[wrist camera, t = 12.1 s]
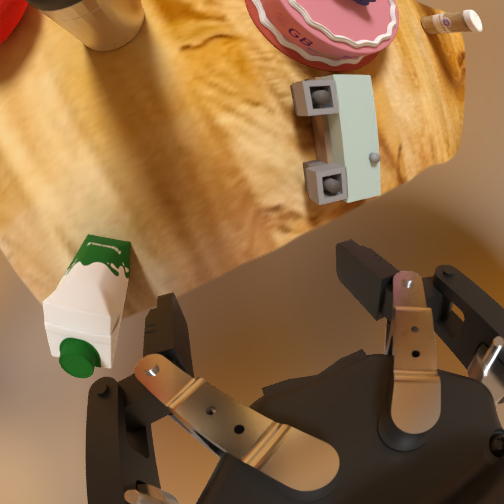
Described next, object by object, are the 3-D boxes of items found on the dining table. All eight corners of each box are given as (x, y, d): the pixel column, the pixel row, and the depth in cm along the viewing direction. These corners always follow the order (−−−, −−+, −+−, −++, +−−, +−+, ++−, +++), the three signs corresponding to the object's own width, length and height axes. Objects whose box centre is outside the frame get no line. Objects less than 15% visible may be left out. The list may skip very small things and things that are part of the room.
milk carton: (81, 278, 39) (43, 371, 21) (83, 226, 35) (28, 307, 18) (130, 287, 42) (115, 386, 25) (137, 236, 39) (114, 327, 21)
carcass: (289, 81, 34) (312, 74, 28) (349, 78, 35) (377, 75, 29) (306, 195, 43) (329, 209, 36) (360, 182, 44) (387, 194, 38)
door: (291, 78, 31) (304, 74, 27) (357, 76, 32) (374, 74, 29) (309, 203, 39) (322, 212, 36) (368, 189, 41) (384, 196, 37)
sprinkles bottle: (417, 19, 31) (467, 11, 19) (426, 14, 30) (474, 7, 19) (428, 37, 33) (479, 34, 21) (436, 32, 32) (485, 29, 21)
